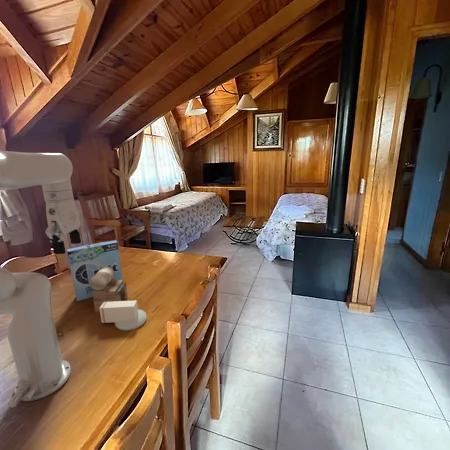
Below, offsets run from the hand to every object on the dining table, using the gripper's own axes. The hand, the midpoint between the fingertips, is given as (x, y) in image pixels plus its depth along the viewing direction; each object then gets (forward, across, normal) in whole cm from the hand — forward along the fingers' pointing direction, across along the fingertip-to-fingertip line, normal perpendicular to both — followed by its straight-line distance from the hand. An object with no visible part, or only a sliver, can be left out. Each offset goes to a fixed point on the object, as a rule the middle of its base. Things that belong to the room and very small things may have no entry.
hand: (68, 248), depth 82 cm
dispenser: (+30, +15, -5) cm, 34 cm away
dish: (+30, +3, -16) cm, 34 cm away
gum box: (+31, +25, +4) cm, 40 cm away
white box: (+29, +3, -12) cm, 32 cm away
